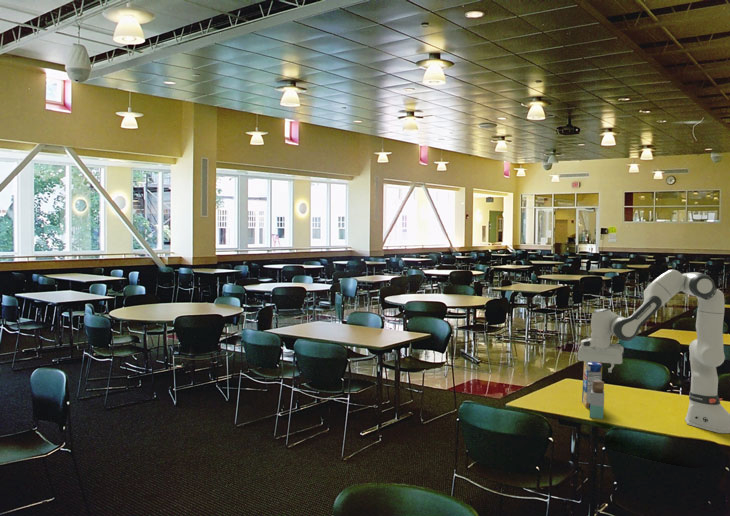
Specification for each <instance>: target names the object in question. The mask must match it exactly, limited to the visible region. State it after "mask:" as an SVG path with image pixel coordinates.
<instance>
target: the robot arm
mask: <svg viewBox="0 0 730 516" xmlns="http://www.w3.org/2000/svg"><path fill="white" fill-rule="evenodd" d="M680 292H681V293H683V294H686V295H689V296H692V297H696V299H697V303H698V304H697V311H696V322H695V331H696V338H695V339H693V340H692V341H691V342H690V343H689V347H688V350H689V362H690V363H689V364H690V373H691V378H690V390H689V395H688V399H689V404H688V408H687V409H688V410H687V413H686V416H685V419H684V420H685V422H686V425H690V426H692V427H695V428H699V429H702V430H707V431H711V432H714V433H718V434H730V413H729V411H727V409H725V408H724V406H723V405H722V404H721V401H722V402H723V398H719V395H718V388H719V387H718V385H719V377H718V371H717V367H720V366H721V365H722V364H724V361H725V359H726V356H725V351H724V350H725V349H724V337H723V336H724V332H723V331H724V330H723V327H724V317H725V309H726V308H725V305H726V304H725V302H726V301H725V296H724V295H725V293H724V292H723V291H722V290H720V289H718V288H717V287H716V284H715V282H714V280H713V279H712V277H710V275H708V274H705V273H702V272H697V271H694V272H692V271H687V272H686V271H685V272H682V273H681V272H680V271H679V270H676V269H668V270H666V271H665V272H663V273H662V274H660V275H659V276H658V277H656V278H655V279H653V281H652V282H650V283H649V284H648V286H646V287H645V289H644V290H643V303H642V304H641V305H639V307H638V308H637V309H636V310H635V311H633V312H632V314H631V315H630V316H628V317H624V316H622V315H619V314H617V313H615V312H613V311H611V310H610V309H609V308H598V309H595V310H594V311H593V312H592V313H591V319H590V329H591V333H590V337H589V338H585V339H582V340H580V345H579V347H578V351H577V357H576V359H577V360H578V362H579V361H580V362H584V361H585V364H586V366H587V371H590V367H589V366H588V361H589V362H600V363H601V364H602V363H603V364H610V365H611V366H610V367H609V368H607V369H608V372H607V373H612V372H613V371H612V370H613V368H614V367H615V365H622V364H623V354H624V349H625V348H624V346H623V345H621V344H619V343H611V336H614V337H616V338H617V339H619V340H620V341H622V342H629V341H633V340H634V339H635V338H636V337H637V335H638V334H639V332H640V329H641V327H643V325H645V323H647V322H648V320H650V318H651V317H652V316H653V315H654V314H655V313H656V312H657V311H658V310H659V309H661V307H662V306H664V305H665V304H666V303H667V302H669V301H670V300H671V299H672V298H674V296H676V294H678V293H680Z"/></svg>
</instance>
